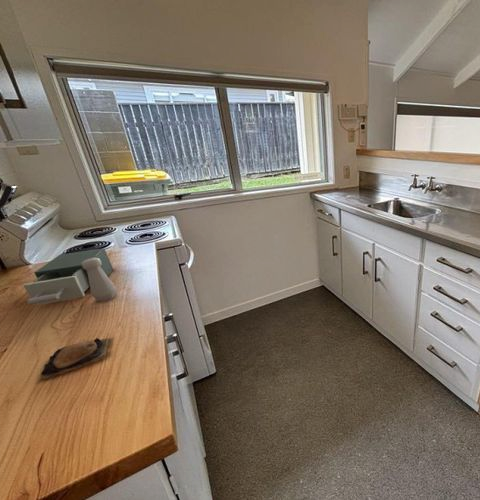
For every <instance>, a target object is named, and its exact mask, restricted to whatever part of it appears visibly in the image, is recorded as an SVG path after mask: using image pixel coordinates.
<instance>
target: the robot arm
mask: <svg viewBox="0 0 480 500" xmlns="http://www.w3.org/2000/svg"><path fill="white" fill-rule="evenodd" d="M18 188H19V186H17V184H10V183H7V182H5V181H4V179H3V178H2V177H0V192H1V191H3V192H2V194H1V193H0V223H1V222H3V223H4V222H6V221H8V219H9V214H8V213H7V211H6V209H5V206H7V205H8V204H12V201H13V199H14V197H15V195H16V193H17V190H18Z"/></svg>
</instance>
